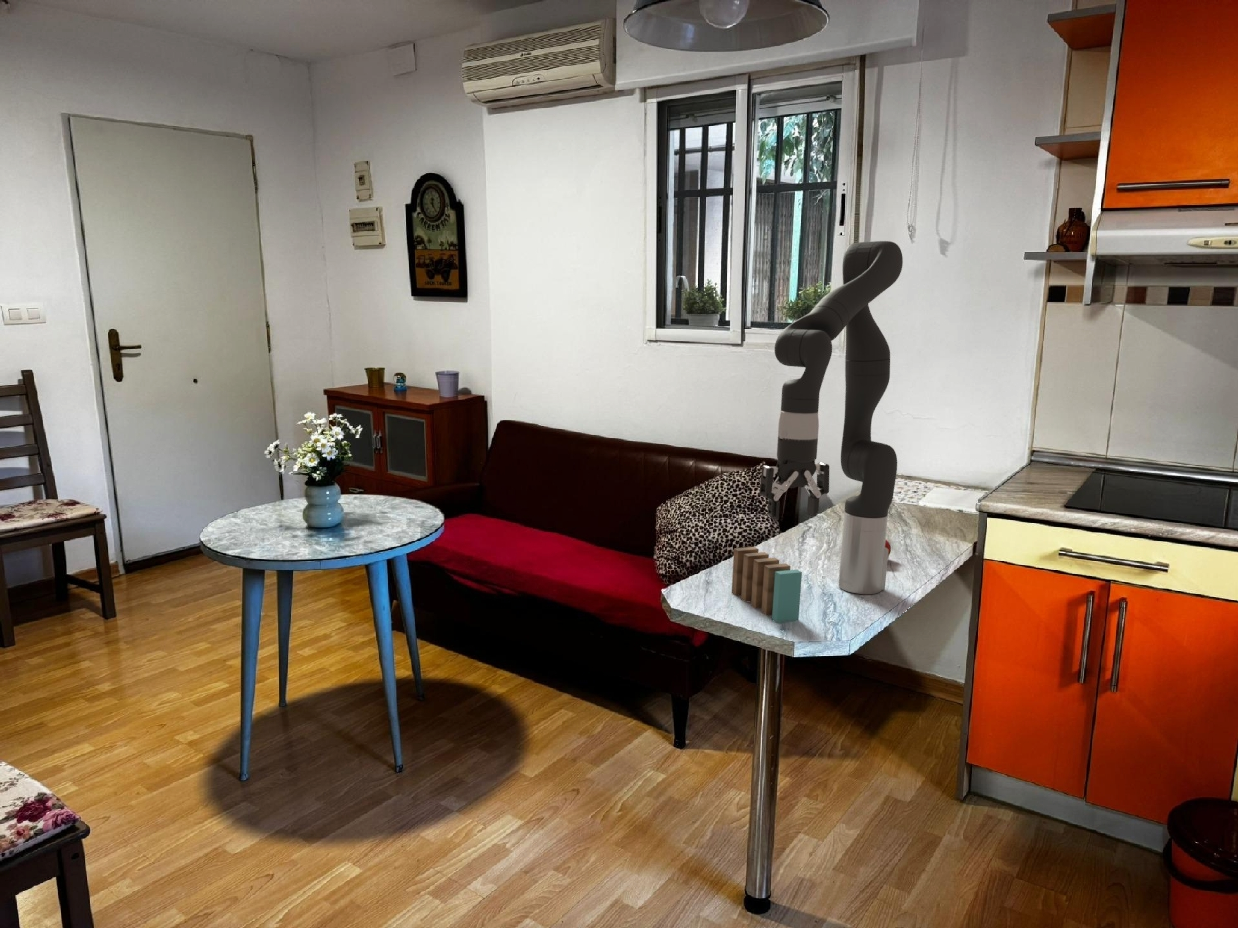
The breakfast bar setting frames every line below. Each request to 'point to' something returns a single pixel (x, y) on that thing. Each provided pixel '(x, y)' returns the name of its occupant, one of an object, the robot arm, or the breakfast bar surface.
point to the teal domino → (786, 595)
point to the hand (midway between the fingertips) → (792, 517)
